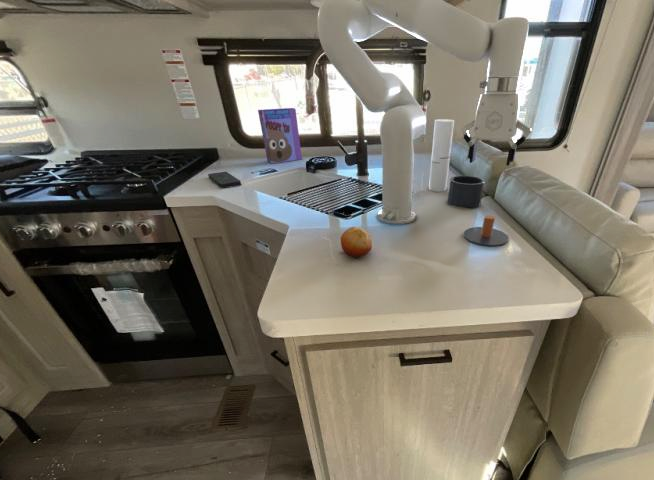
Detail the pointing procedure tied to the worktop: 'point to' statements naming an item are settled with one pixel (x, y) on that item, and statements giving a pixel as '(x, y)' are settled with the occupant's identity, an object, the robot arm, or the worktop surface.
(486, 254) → the worktop surface
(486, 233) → the lid
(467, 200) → the pot
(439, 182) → the white tall block
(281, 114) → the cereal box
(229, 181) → the smart home device
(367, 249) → the fruit
